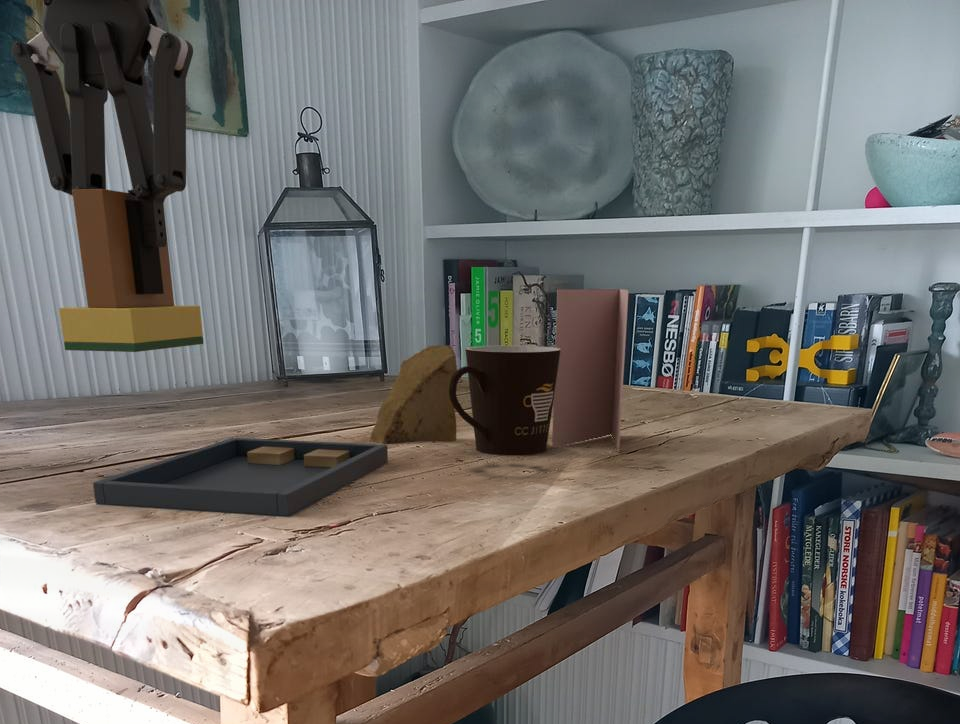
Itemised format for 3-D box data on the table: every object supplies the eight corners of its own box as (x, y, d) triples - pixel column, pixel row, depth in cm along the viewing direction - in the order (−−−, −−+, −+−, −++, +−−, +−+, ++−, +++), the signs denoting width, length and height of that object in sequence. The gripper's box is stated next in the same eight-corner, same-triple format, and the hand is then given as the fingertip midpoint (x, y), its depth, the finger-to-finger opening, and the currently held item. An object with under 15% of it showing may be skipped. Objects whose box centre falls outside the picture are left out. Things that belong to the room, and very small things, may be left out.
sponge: (135, 352, 69) (115, 187, 65) (64, 350, 70) (40, 188, 66) (203, 344, 78) (189, 198, 74) (139, 342, 79) (122, 199, 75)
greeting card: (604, 434, 103) (612, 289, 97) (664, 441, 98) (676, 289, 93) (544, 447, 94) (549, 289, 89) (607, 456, 90) (617, 290, 85)
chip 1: (247, 463, 80) (246, 451, 79) (263, 457, 82) (262, 446, 82) (280, 465, 79) (279, 453, 79) (294, 459, 82) (294, 447, 81)
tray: (97, 517, 65) (92, 482, 65) (234, 465, 84) (232, 437, 83) (290, 531, 62) (287, 494, 61) (388, 473, 81) (387, 444, 80)
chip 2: (304, 466, 79) (303, 454, 78) (317, 460, 81) (317, 449, 81) (337, 468, 78) (336, 456, 78) (350, 462, 81) (349, 450, 80)
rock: (375, 433, 87) (476, 415, 89) (352, 354, 89) (452, 337, 91) (369, 484, 97) (460, 466, 99) (348, 411, 99) (438, 396, 101)
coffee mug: (534, 449, 93) (536, 344, 89) (572, 464, 86) (577, 351, 82) (423, 456, 89) (421, 347, 86) (453, 472, 82) (452, 353, 78)
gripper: (217, -61, 66) (245, 294, 74) (26, -46, 69) (74, 292, 78) (159, -101, 59) (197, 295, 67) (-50, -82, 62) (12, 293, 71)
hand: (131, 293), depth 73 cm, fingers closed on sponge, 2 cm apart
